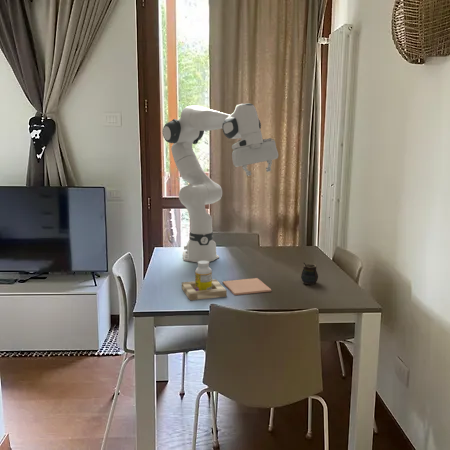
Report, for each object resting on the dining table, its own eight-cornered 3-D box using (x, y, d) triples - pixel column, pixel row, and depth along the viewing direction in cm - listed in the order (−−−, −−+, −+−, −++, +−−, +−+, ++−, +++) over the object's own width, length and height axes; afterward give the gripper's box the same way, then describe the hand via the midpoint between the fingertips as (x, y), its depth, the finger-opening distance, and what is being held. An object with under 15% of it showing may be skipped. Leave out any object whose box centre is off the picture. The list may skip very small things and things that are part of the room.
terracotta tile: (222, 283, 205) (222, 281, 204) (257, 279, 209) (257, 278, 209) (234, 295, 190) (234, 293, 190) (271, 291, 194) (271, 289, 194)
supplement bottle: (195, 289, 196) (195, 259, 193) (211, 289, 197) (211, 259, 194) (195, 295, 189) (195, 264, 187) (212, 294, 190) (212, 264, 187)
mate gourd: (321, 283, 205) (322, 261, 203) (311, 287, 200) (312, 264, 198) (307, 279, 210) (308, 257, 208) (297, 283, 205) (298, 261, 203)
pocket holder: (181, 288, 198) (181, 282, 197) (215, 284, 202) (216, 279, 202) (189, 300, 184) (189, 294, 183) (226, 296, 188) (226, 290, 188)
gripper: (271, 138, 206) (277, 169, 206) (228, 146, 199) (234, 178, 200) (277, 136, 200) (284, 168, 201) (233, 143, 193) (240, 177, 194)
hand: (259, 173), depth 200 cm, fingers open, 8 cm apart
